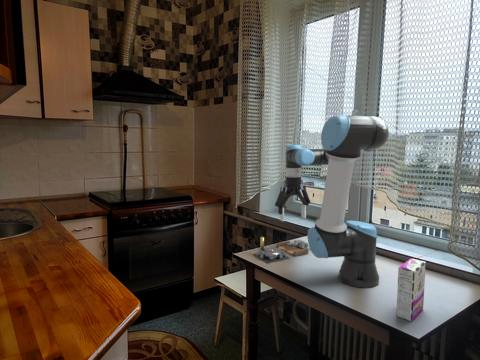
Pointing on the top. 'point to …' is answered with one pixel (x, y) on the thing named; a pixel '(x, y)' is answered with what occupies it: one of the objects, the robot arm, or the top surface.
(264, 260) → the base
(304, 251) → the seat
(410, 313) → the candy bar box
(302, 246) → the mechanical component
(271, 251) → the grey metal machine part
